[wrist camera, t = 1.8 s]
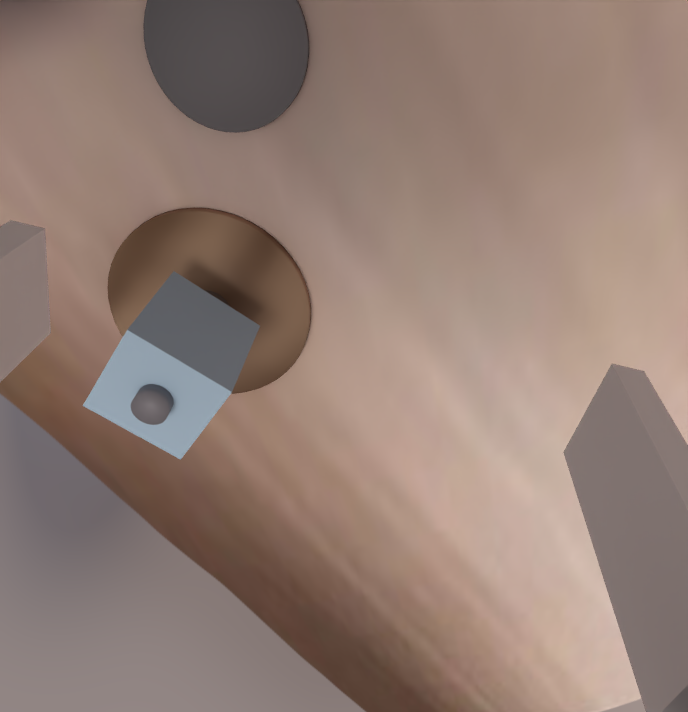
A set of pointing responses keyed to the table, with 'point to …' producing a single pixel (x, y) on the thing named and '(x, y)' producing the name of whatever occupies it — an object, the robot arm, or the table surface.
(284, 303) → the post stand
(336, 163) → the table surface
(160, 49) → the coaster
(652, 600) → the robot arm
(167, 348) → the cube with round hole
